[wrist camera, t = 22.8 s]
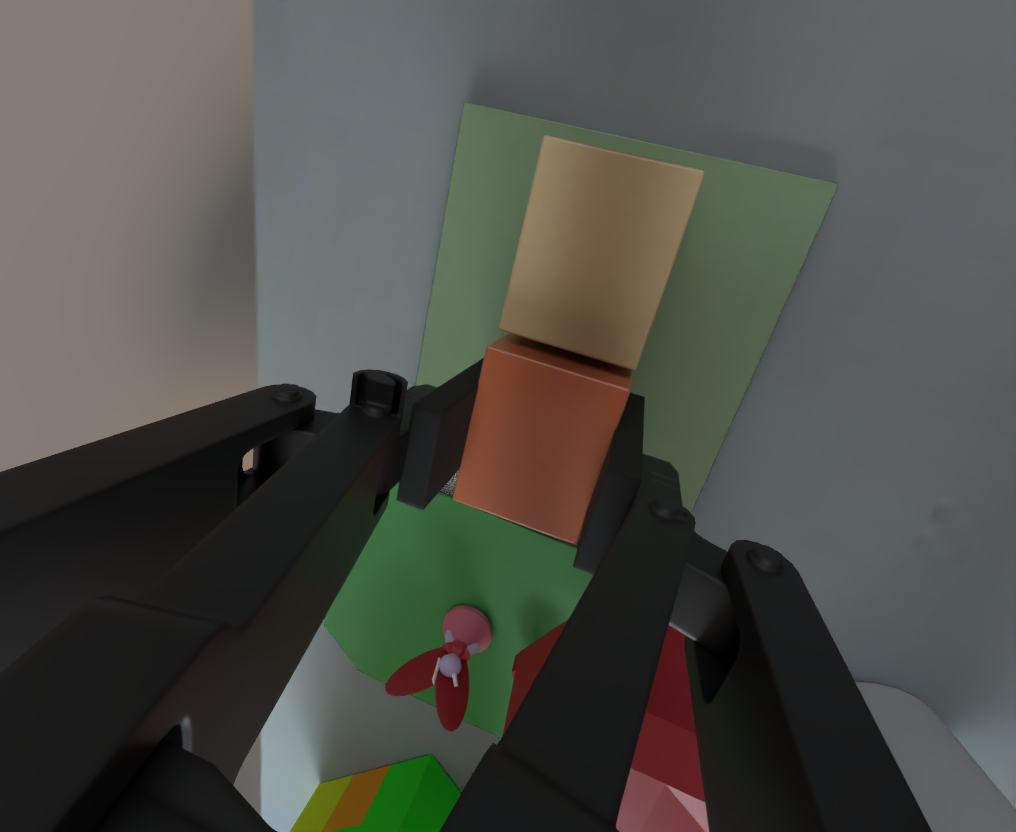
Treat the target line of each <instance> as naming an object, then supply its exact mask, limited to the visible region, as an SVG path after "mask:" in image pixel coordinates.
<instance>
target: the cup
mask: <svg viewBox="0 0 1016 832" xmlns="http://www.w3.org/2000/svg"><path fill="white" fill-rule="evenodd" d="M855 683H856V685H857V687H858V689H859V691H860V692H861V694H862V696H863V698H864V700H865V702H866V704H867V706H868V708H869V710H870V712H871V714H872V716H873V718H874V720H875V722H876V724H877V725H878V727H879V729H880V731H881V733H882V735H883V737H884V739H885V741H886V743H887V745H888V747H889V749H890V751H891V753H892V755H893V756H894V758H895V760H896V762H897V764H898V766H899V768H900V770H901V772H902V774H903V776H904V778H905V780H906V782H907V784H908V786H909V788H910V789H911V791H912V793H913V795H914V797H915V799H916V801H917V803H918V805H919V807H920V809H921V811H922V813H923V815H924V817H925V819H926V821H927V822H928V824H929V826H930V828H931V830H932V832H1016V810H1015V808H1014V807H1013V806H1012V805H1011V804H1010V802H1009V801H1008V800H1007V799H1006V797H1005V796H1004V795H1003V794H1002V793H1001V791H1000V790H999V789H998V788H997V787H996V785H995V784H994V783H993V782H992V781H991V779H990V778H989V777H988V776H987V775H986V773H985V772H984V771H983V770H982V768H981V767H980V766H979V765H978V764H977V762H976V761H975V760H974V759H973V758H972V756H971V755H970V754H969V753H968V752H967V750H966V749H965V748H964V747H963V746H962V744H961V743H960V742H959V741H958V739H957V738H956V737H955V736H954V735H953V733H952V732H951V731H950V730H949V729H948V727H947V726H946V725H945V724H944V723H943V721H942V720H941V719H940V718H939V717H938V715H937V714H936V713H935V712H934V710H932V709H931V708H930V707H929V706H927V705H926V704H925V703H923V702H922V701H921V700H920V699H918V698H917V697H915V696H912V695H910V694H908V693H906V692H904V691H902V690H900V689H897V688H893V687H889V686H885V685H881V684H878V683H865V682H855Z"/></svg>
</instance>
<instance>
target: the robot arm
mask: <svg viewBox="0 0 1016 832" xmlns="http://www.w3.org/2000/svg"><path fill="white" fill-rule="evenodd" d="M483 359H484V358H482V359H481V360H479V361H478V362H476V363H475V364H473V365H471V366H470V367H468V368H467V369H465V370H464V371H462V372H461V373H459V374H458V375H456V376H455V377H453V378H451V379H450V380H448V381H447V382H445V383H444V384H442V385H441V386H439V387H435V386H431V385H428V384H424V385H418V386H413V387H411V388H410V389H408V390H407V385H408V382H407V381H406V380H405V379H404V378H402V377H401V376H399V375H396V374H393V373H390V372H386V371H381V370H360V371H357V372H355V373H353V380H352V388H351V397H350V405H348V406H347V407H346V408H345V409H344V410H343V411H342V412H341V413H340V414H339V413H332V412H327V411H321V410H316V409H315V404H316V395H315V394H314V393H313V392H312V391H310V390H308V389H306V388H302V387H298V385H294V384H291V385H290V384H281V385H270V386H265V387H262V388H259V389H256V390H252V391H249V392H247V393H243V394H240V395H237V396H234V397H231V398H228V399H225V400H222V401H218V402H215V403H212V404H209V405H206V406H203V407H200V408H197V409H194V410H191V411H188V412H185V413H181V414H178V415H175V416H172V417H169V418H166V419H163V420H160V421H157V422H154V423H151V424H147V425H144V426H141V427H138V428H135V429H132V430H129V431H126V432H123V433H120V434H117V435H113V436H110V437H107V438H104V439H101V440H98V441H95V442H92V443H89V444H86V445H82V446H79V447H77V448H73V449H70V450H67V451H64V452H61V453H58V454H55V455H52V456H49V457H46V458H42V459H39V460H36V461H33V462H30V463H27V464H24V465H21V466H18V467H15V468H11V469H8V470H5V471H2V472H0V832H277V831H275V830H274V829H272V828H271V827H270V826H269V825H268V824H267V823H266V822H265V821H264V820H263V818H262V817H261V816H260V815H259V814H258V813H257V812H256V811H255V810H254V808H253V807H252V806H251V805H250V804H249V803H248V802H247V801H246V800H245V798H244V797H243V796H242V795H241V794H240V793H239V792H238V791H237V789H236V788H235V787H234V786H233V784H234V782H235V779H236V777H237V774H238V772H239V770H240V768H241V766H242V764H243V762H244V760H245V758H246V756H247V754H248V753H249V751H250V749H251V747H252V745H253V744H254V742H255V740H256V738H257V737H258V735H259V733H260V731H261V730H262V728H263V726H264V724H265V723H266V721H267V719H268V717H269V715H270V714H271V712H272V710H273V708H274V707H275V705H276V703H277V701H278V699H279V698H280V696H281V694H282V692H283V691H284V689H285V687H286V685H287V684H288V682H289V680H290V678H291V676H292V675H293V673H294V671H295V669H296V668H297V666H298V664H299V662H300V660H301V659H302V657H303V655H304V653H305V652H306V650H307V648H308V646H309V645H310V643H311V641H312V639H313V637H314V636H315V634H316V632H317V630H318V629H319V627H320V625H321V623H322V621H323V620H324V618H325V616H326V614H327V613H328V611H329V609H330V607H331V606H332V604H333V602H334V600H335V598H336V597H337V595H338V593H339V591H340V590H341V588H342V586H343V584H344V582H345V581H346V579H347V577H348V575H349V574H350V572H351V570H352V568H353V567H354V565H355V563H356V561H357V559H358V558H359V556H360V554H361V552H362V551H363V549H364V547H365V545H366V543H367V542H368V540H369V538H370V536H371V535H372V533H373V531H374V529H375V528H376V526H377V524H378V522H379V520H380V519H381V517H382V515H383V513H384V512H385V510H386V508H387V506H388V500H389V494H390V490H391V489H392V488H393V487H394V486H395V485H396V484H397V483H399V487H398V493H397V499H396V500H397V501H399V502H402V503H405V504H407V505H410V506H412V507H415V508H418V509H420V510H424V509H425V508H426V507H427V505H428V504H429V503H430V502H431V501H432V500H433V499H434V497H435V496H436V495H437V494H438V493H439V492H440V490H441V489H442V488H443V487H444V486H445V485H446V484H447V482H448V481H449V480H450V479H451V478H452V477H453V476H454V474H455V473H456V472H457V471H458V470H459V469H460V465H461V461H462V457H463V452H464V448H465V443H466V439H467V434H468V430H469V425H470V421H471V417H472V412H473V408H474V403H475V399H476V394H477V390H478V382H479V377H480V373H481V368H482V364H483ZM644 406H645V397H644V396H640V395H637V394H634V393H631V392H630V394H629V397H628V400H627V402H626V405H625V408H624V411H623V414H622V417H621V419H620V422H619V425H618V428H617V429H615V432H614V435H613V437H612V440H611V443H610V446H609V449H608V452H607V454H606V457H605V460H604V463H603V466H602V469H601V471H600V474H599V477H598V480H597V483H596V486H595V489H594V491H593V494H592V497H591V500H590V503H589V506H588V508H587V511H586V515H585V519H584V523H583V527H582V531H581V535H580V539H579V543H578V547H577V551H576V555H575V560H574V564H573V567H574V568H577V569H580V570H582V571H585V572H588V573H590V574H593V577H592V579H591V580H590V582H589V584H588V586H587V588H586V589H585V591H584V593H583V595H582V596H581V598H580V600H579V602H578V604H577V605H576V607H575V609H574V611H573V612H572V614H571V616H570V618H569V619H568V621H567V623H566V625H565V627H564V628H563V630H562V632H561V634H560V635H559V637H558V639H557V641H556V643H555V644H554V646H553V648H552V650H551V651H550V653H549V655H548V657H547V659H546V660H545V662H544V664H543V666H542V667H541V669H540V671H539V673H538V675H537V676H536V678H535V680H534V682H533V683H532V685H531V687H530V689H529V690H528V692H527V694H526V696H525V698H524V699H523V701H522V703H521V705H520V706H519V708H518V710H517V712H516V714H515V715H514V717H513V719H512V721H511V722H510V724H509V726H508V728H507V730H506V731H505V733H504V735H503V736H502V738H501V740H500V741H499V742H498V744H497V745H496V744H494V743H493V744H492V745H491V746H490V747H489V749H488V750H487V751H486V753H485V754H484V756H483V758H482V759H481V761H480V762H479V764H478V766H477V767H476V769H475V771H474V772H473V774H472V776H471V778H470V779H469V781H468V783H467V785H466V786H465V788H464V790H463V791H462V793H461V795H460V797H459V798H458V800H457V802H456V803H455V805H454V807H453V809H452V810H451V812H450V814H449V816H448V817H447V819H446V821H445V822H444V824H443V826H442V828H441V829H440V831H439V832H620V831H619V830H617V829H616V823H617V818H618V814H619V810H620V806H621V802H622V798H623V794H624V791H625V787H626V783H627V779H628V776H629V772H630V768H631V764H632V761H633V757H634V753H635V749H636V746H637V742H638V738H639V734H640V731H641V727H642V723H643V719H644V716H645V712H646V708H647V704H648V701H649V697H650V693H651V689H652V685H653V682H654V678H655V674H656V670H657V667H658V663H659V659H660V655H661V652H662V648H663V644H664V640H665V637H666V633H667V629H668V625H670V626H672V627H673V628H675V629H676V630H678V631H680V632H681V633H683V634H684V635H686V636H685V640H684V649H685V657H686V664H687V672H688V679H689V686H690V694H691V701H692V708H693V716H694V723H695V731H696V738H697V745H698V753H699V760H700V768H701V775H702V782H703V790H704V797H705V804H706V812H707V819H708V827H709V832H932V830H931V828H930V826H929V824H928V822H927V821H926V819H925V817H924V815H923V813H922V811H921V809H920V807H919V805H918V803H917V801H916V799H915V797H914V795H913V793H912V791H911V789H910V788H909V786H908V784H907V782H906V780H905V778H904V776H903V774H902V772H901V770H900V768H899V766H898V764H897V762H896V760H895V758H894V756H893V755H892V753H891V751H890V749H889V747H888V745H887V743H886V741H885V739H884V737H883V735H882V733H881V731H880V729H879V727H878V725H877V724H876V722H875V720H874V718H873V716H872V714H871V712H870V710H869V708H868V706H867V704H866V702H865V700H864V698H863V696H862V694H861V692H860V691H859V689H858V687H857V685H856V683H855V681H854V679H853V677H852V675H851V673H850V671H849V669H848V667H847V665H846V663H845V661H844V659H843V658H842V656H841V654H840V652H839V650H838V648H837V646H836V644H835V642H834V640H833V638H832V636H831V634H830V632H829V630H828V628H827V626H826V625H825V623H824V621H823V619H822V617H821V615H820V613H819V611H818V609H817V607H816V605H815V603H814V601H813V599H812V597H811V595H810V593H809V592H808V590H807V588H806V586H805V584H804V582H803V580H802V578H801V576H800V574H799V572H798V571H797V570H796V568H795V567H794V566H793V564H792V563H791V562H789V561H788V560H787V559H786V558H785V557H783V555H782V554H781V553H779V552H778V551H776V550H775V551H774V549H773V548H771V547H769V546H766V545H762V544H759V543H757V542H752V541H748V540H736V541H735V542H734V543H732V544H731V546H730V548H729V550H728V552H727V551H725V550H723V549H721V548H719V547H717V546H716V545H714V544H712V543H710V542H708V541H707V540H705V539H703V538H702V537H701V536H699V535H698V534H697V533H695V532H694V528H695V524H696V523H695V518H694V516H693V515H692V514H691V512H690V511H689V510H688V509H686V508H685V507H684V506H683V505H682V497H681V490H680V483H679V473H678V471H677V470H676V469H675V468H674V466H673V465H672V464H671V463H670V462H667V461H664V460H661V459H658V458H655V457H652V456H649V455H646V454H643V432H644ZM253 448H254V452H253V467H252V468H250V469H248V470H246V471H243V468H242V462H243V461H242V460H243V457H244V455H245V454H246V453H247V452H249V451H250V450H251V449H253Z"/></svg>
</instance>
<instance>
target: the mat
mask: <svg viewBox="0 0 1016 832" xmlns="http://www.w3.org/2000/svg"><path fill="white" fill-rule="evenodd" d="M545 135H549V136H554V137H558V138H563V139H567V140H571V141H576V142H580V143H585V144H589V145H594V146H598V147H603V148H607V149H611V150H616V151H620V152H625V153H629V154H634V155H638V156H643V157H647V158H651V159H656V160H660V161H665V162H669V163H674V164H678V165H683V166H687V167H691V168H696V169H700V170H703V171H704V172H705V177H704V179H703V182H702V185H701V188H700V191H699V194H698V196H697V199H696V202H695V205H694V208H693V211H692V213H691V216H690V219H689V222H688V225H687V228H686V231H685V233H684V236H683V239H682V242H681V245H680V248H679V250H678V253H677V256H676V259H675V262H674V265H673V267H672V270H671V273H670V276H669V279H668V282H667V284H666V287H665V290H664V293H663V296H662V299H661V301H660V304H659V307H658V310H657V313H656V316H655V318H654V321H653V324H652V327H651V330H650V333H649V335H648V338H647V341H646V344H645V347H644V350H643V352H642V355H641V358H640V361H639V364H638V367H637V368H636V370H633V375H632V382H631V389H630V392H631V393H634V394H637V395H640V396H644V397H645V406H644V432H643V454H646V455H649V456H652V457H655V458H658V459H661V460H664V461H667V462H670V463H671V464H672V465H673V466H674V468H675V469H676V470H677V471H678V473H679V483H680V490H681V497H682V505H683V506H684V507H685V508H686V509H688V510H689V511H690V512H692V510H693V507H694V505H695V503H696V501H697V499H698V496H699V494H700V492H701V490H702V487H703V485H704V483H705V481H706V479H707V476H708V474H709V472H710V470H711V468H712V465H713V463H714V461H715V459H716V456H717V454H718V452H719V450H720V448H721V445H722V443H723V441H724V439H725V436H726V434H727V432H728V430H729V428H730V425H731V423H732V421H733V419H734V416H735V414H736V412H737V410H738V408H739V405H740V403H741V401H742V399H743V396H744V394H745V392H746V390H747V388H748V385H749V383H750V381H751V379H752V376H753V374H754V372H755V370H756V368H757V365H758V363H759V361H760V359H761V356H762V354H763V352H764V350H765V348H766V345H767V343H768V341H769V339H770V336H771V334H772V332H773V330H774V328H775V325H776V323H777V321H778V319H779V316H780V314H781V312H782V310H783V308H784V305H785V303H786V301H787V299H788V296H789V294H790V292H791V290H792V288H793V285H794V283H795V281H796V279H797V276H798V274H799V272H800V270H801V268H802V265H803V263H804V261H805V259H806V256H807V254H808V252H809V250H810V248H811V245H812V243H813V241H814V239H815V236H816V234H817V232H818V230H819V228H820V225H821V223H822V221H823V219H824V217H825V214H826V212H827V210H828V208H829V205H830V203H831V201H832V199H833V197H834V194H835V192H836V190H837V188H838V184H837V183H832V182H828V181H823V180H819V179H814V178H810V177H805V176H800V175H796V174H791V173H787V172H782V171H778V170H773V169H768V168H764V167H759V166H755V165H750V164H746V163H741V162H736V161H732V160H727V159H723V158H718V157H714V156H709V155H704V154H700V153H695V152H691V151H686V150H682V149H677V148H672V147H668V146H663V145H659V144H654V143H650V142H645V141H640V140H636V139H631V138H627V137H622V136H618V135H613V134H608V133H604V132H599V131H595V130H590V129H586V128H581V127H576V126H572V125H567V124H563V123H558V122H554V121H549V120H544V119H540V118H535V117H531V116H526V115H522V114H517V113H512V112H508V111H503V110H499V109H494V108H490V107H485V106H480V105H476V104H471V103H467V102H465V103H464V104H463V110H462V116H461V122H460V128H459V133H458V139H457V145H456V151H455V157H454V163H453V168H452V174H451V180H450V186H449V192H448V198H447V203H446V209H445V215H444V221H443V227H442V233H441V238H440V244H439V250H438V256H437V262H436V268H435V273H434V279H433V285H432V291H431V297H430V303H429V308H428V314H427V320H426V326H425V332H424V338H423V343H422V349H421V355H420V361H419V367H418V373H417V379H416V384H415V386H418V385H424V384H428V385H431V386H435V387H439V386H441V385H442V384H444V383H445V382H447V381H448V380H450V379H451V378H453V377H455V376H456V375H458V374H459V373H461V372H462V371H464V370H465V369H467V368H468V367H470V366H471V365H473V364H475V363H476V362H478V361H479V360H481V359H482V358H484V355H485V350H486V347H487V346H488V345H490V344H492V343H493V342H495V341H497V340H498V339H500V338H502V337H503V336H505V335H507V334H508V333H507V332H504V331H501V330H500V329H499V325H500V321H501V316H502V312H503V308H504V303H505V299H506V295H507V290H508V286H509V282H510V277H511V273H512V269H513V264H514V260H515V256H516V251H517V247H518V243H519V238H520V234H521V230H522V225H523V221H524V217H525V212H526V208H527V204H528V199H529V195H530V191H531V186H532V182H533V178H534V173H535V169H536V165H537V160H538V156H539V152H540V147H541V143H542V139H543V137H544V136H545Z"/></svg>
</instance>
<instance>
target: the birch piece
mask: <svg viewBox="0 0 1016 832" xmlns="http://www.w3.org/2000/svg"><path fill="white" fill-rule="evenodd" d="M704 177H705V172H704V171H703V170H700V169H696V168H691V167H687V166H683V165H678V164H674V163H669V162H665V161H660V160H656V159H651V158H647V157H643V156H638V155H634V154H629V153H625V152H620V151H616V150H611V149H607V148H603V147H598V146H594V145H589V144H585V143H580V142H576V141H571V140H567V139H563V138H558V137H554V136H549V135H545V136H544V137H543V139H542V143H541V147H540V152H539V156H538V160H537V165H536V169H535V173H534V178H533V182H532V186H531V191H530V195H529V199H528V204H527V208H526V212H525V217H524V221H523V225H522V230H521V234H520V238H519V243H518V247H517V251H516V256H515V260H514V264H513V269H512V273H511V277H510V282H509V286H508V290H507V295H506V299H505V303H504V308H503V312H502V316H501V321H500V325H499V329H500V330H501V331H504V332H507V333H510V334H514V335H517V336H520V337H524V338H527V339H530V340H534V341H537V342H540V343H544V344H547V345H550V346H554V347H557V348H560V349H564V350H567V351H570V352H574V353H577V354H580V355H584V356H587V357H590V358H594V359H597V360H600V361H604V362H607V363H610V364H614V365H617V366H620V367H624V368H627V369H630V370H636V368H637V367H638V364H639V361H640V358H641V355H642V352H643V350H644V347H645V344H646V341H647V338H648V335H649V333H650V330H651V327H652V324H653V321H654V318H655V316H656V313H657V310H658V307H659V304H660V301H661V299H662V296H663V293H664V290H665V287H666V284H667V282H668V279H669V276H670V273H671V270H672V267H673V265H674V262H675V259H676V256H677V253H678V250H679V248H680V245H681V242H682V239H683V236H684V233H685V231H686V228H687V225H688V222H689V219H690V216H691V213H692V211H693V208H694V205H695V202H696V199H697V196H698V194H699V191H700V188H701V185H702V182H703V179H704Z"/></svg>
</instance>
